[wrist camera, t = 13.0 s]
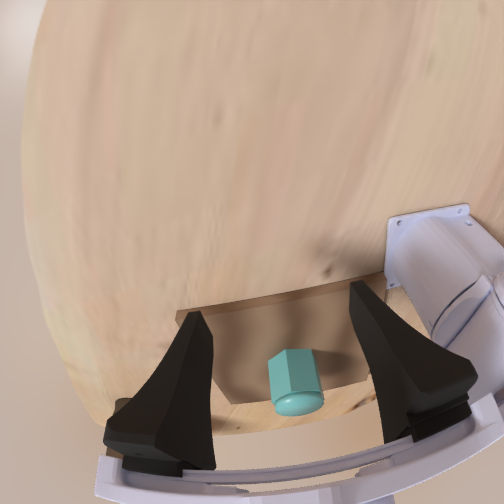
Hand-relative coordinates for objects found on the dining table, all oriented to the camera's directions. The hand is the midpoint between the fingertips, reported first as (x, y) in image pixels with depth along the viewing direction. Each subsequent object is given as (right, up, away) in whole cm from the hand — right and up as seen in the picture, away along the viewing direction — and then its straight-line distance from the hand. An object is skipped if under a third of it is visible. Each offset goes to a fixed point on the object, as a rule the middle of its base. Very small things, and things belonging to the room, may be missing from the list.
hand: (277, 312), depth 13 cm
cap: (+3, -10, +17) cm, 20 cm away
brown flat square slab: (+3, -9, +18) cm, 20 cm away
